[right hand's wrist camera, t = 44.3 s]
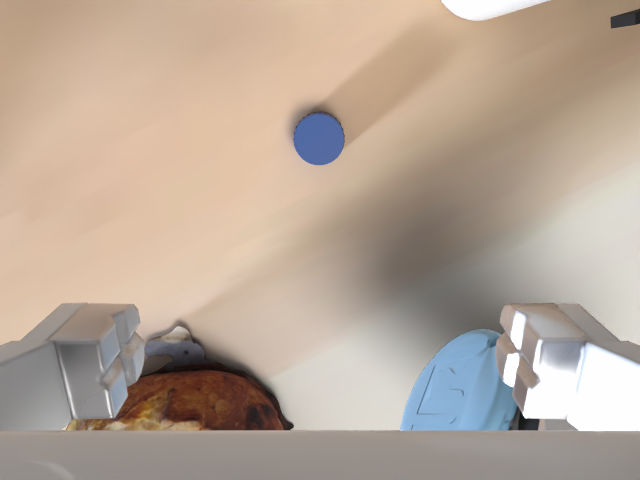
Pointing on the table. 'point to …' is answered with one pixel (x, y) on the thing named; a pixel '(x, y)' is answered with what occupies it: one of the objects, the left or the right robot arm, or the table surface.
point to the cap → (319, 138)
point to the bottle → (486, 7)
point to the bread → (191, 395)
